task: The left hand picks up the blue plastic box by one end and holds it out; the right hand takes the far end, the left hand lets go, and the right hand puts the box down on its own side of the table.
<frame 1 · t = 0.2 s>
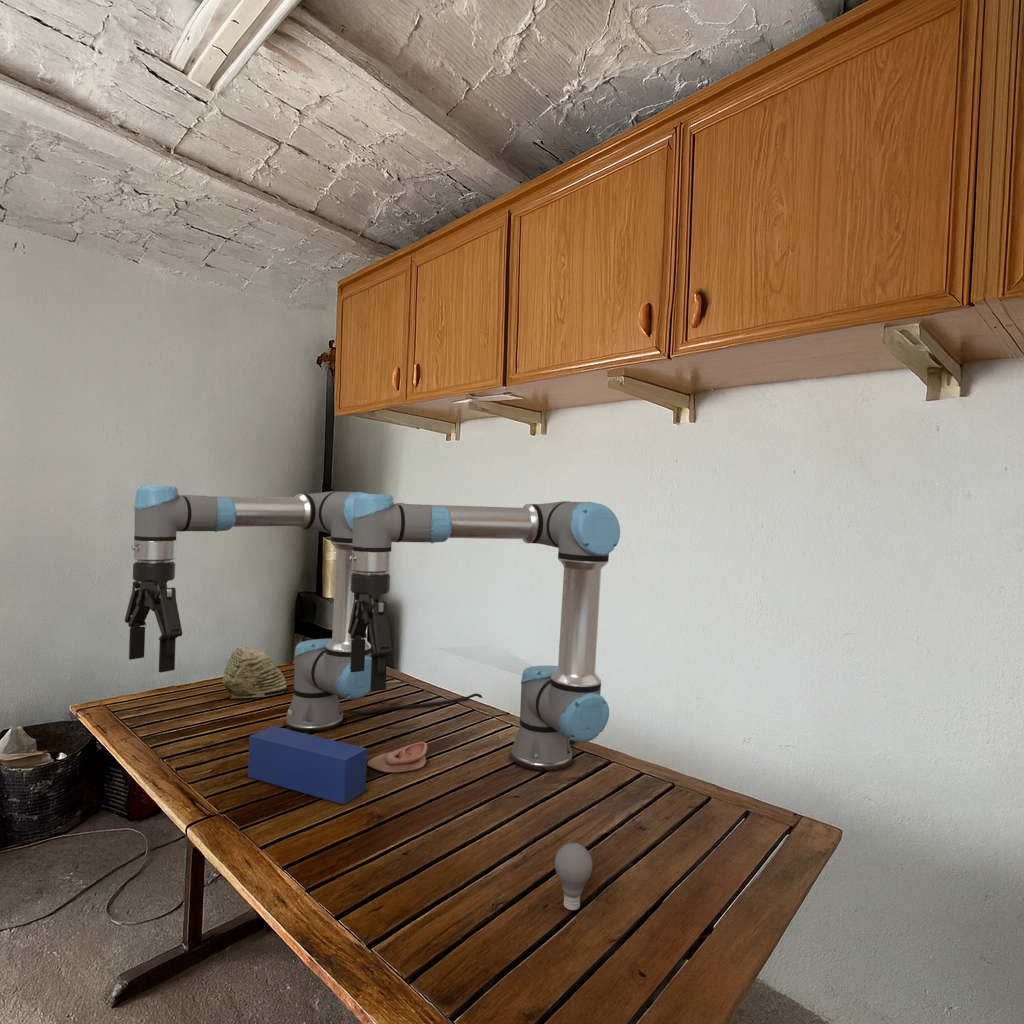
left hand: (151, 664, 129), 28 cm above the table, tool pointing down, fingers open, 13 cm apart
right hand: (367, 680, 124), 28 cm above the table, tool pointing down, fingers open, 13 cm apart
box: (305, 783, 139), on the table
light bulb: (571, 908, 100), on the table
anatomical model: (397, 763, 152), on the table
fossil: (254, 694, 198), on the table
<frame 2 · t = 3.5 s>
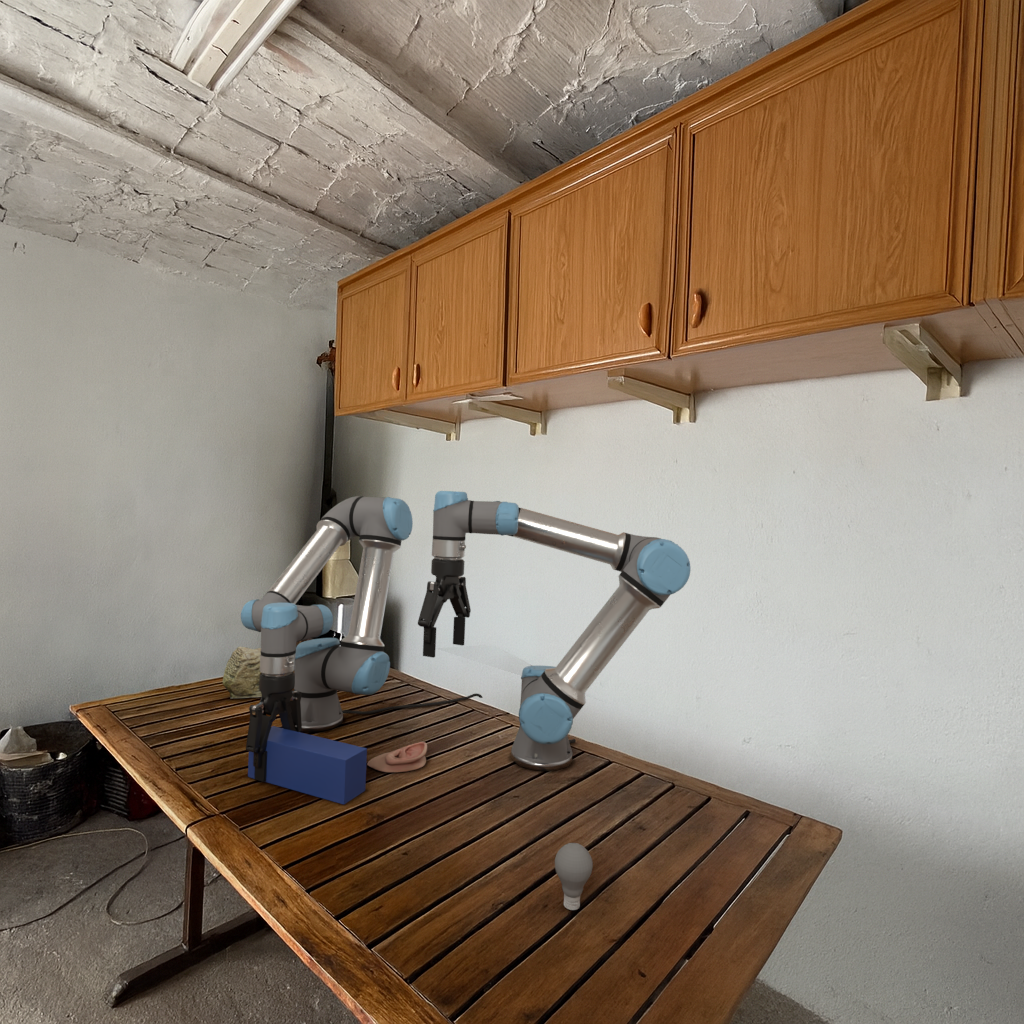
left hand: (273, 773, 143), 0 cm above the table, tool pointing down, fingers closed on box, 7 cm apart
right hand: (444, 650, 146), 29 cm above the table, tool pointing down, fingers open, 13 cm apart
box: (305, 783, 139), on the table, touching left hand
everything else where it was.
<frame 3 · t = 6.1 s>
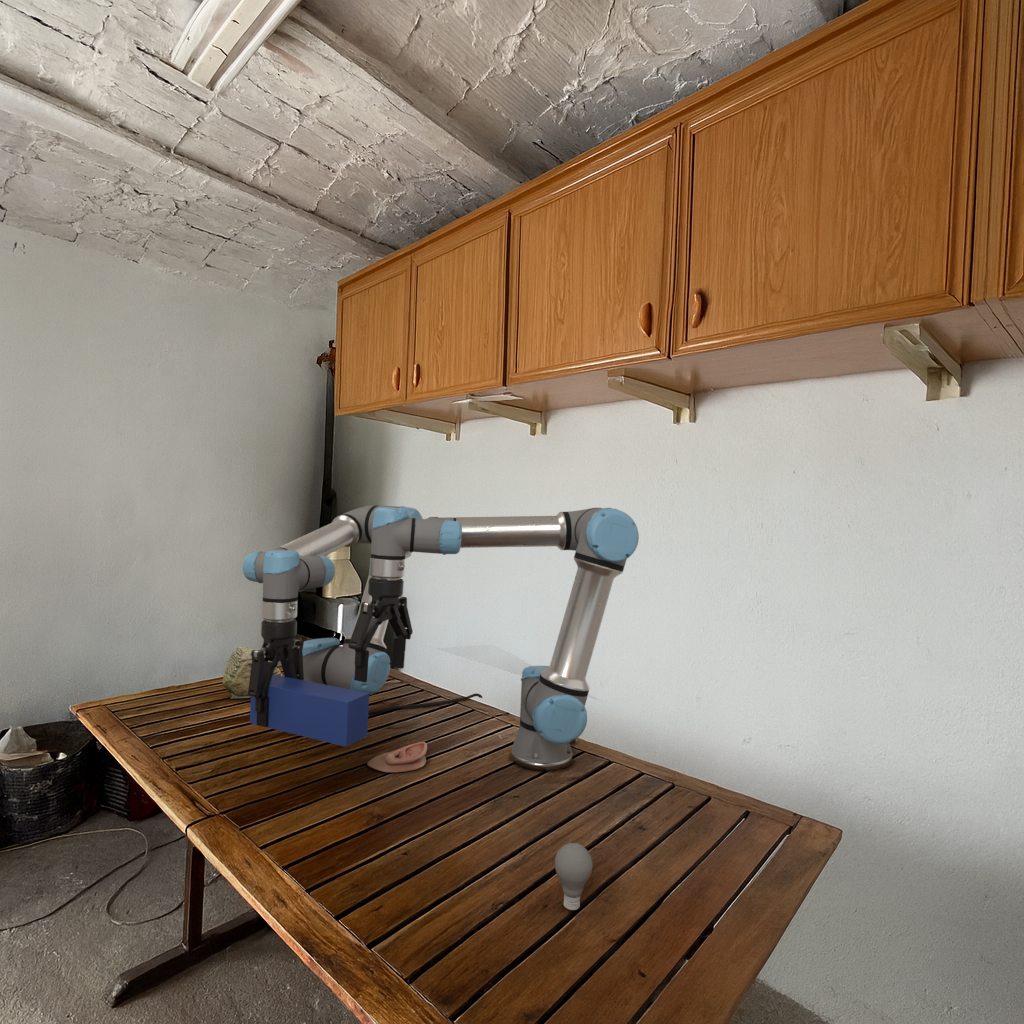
left hand: (275, 720, 143), 12 cm above the table, tool pointing down, fingers closed on box, 7 cm apart
right hand: (380, 674, 139), 25 cm above the table, tool pointing down, fingers open, 13 cm apart
box: (307, 729, 139), point 12 cm above the table, touching left hand
everything else where it was.
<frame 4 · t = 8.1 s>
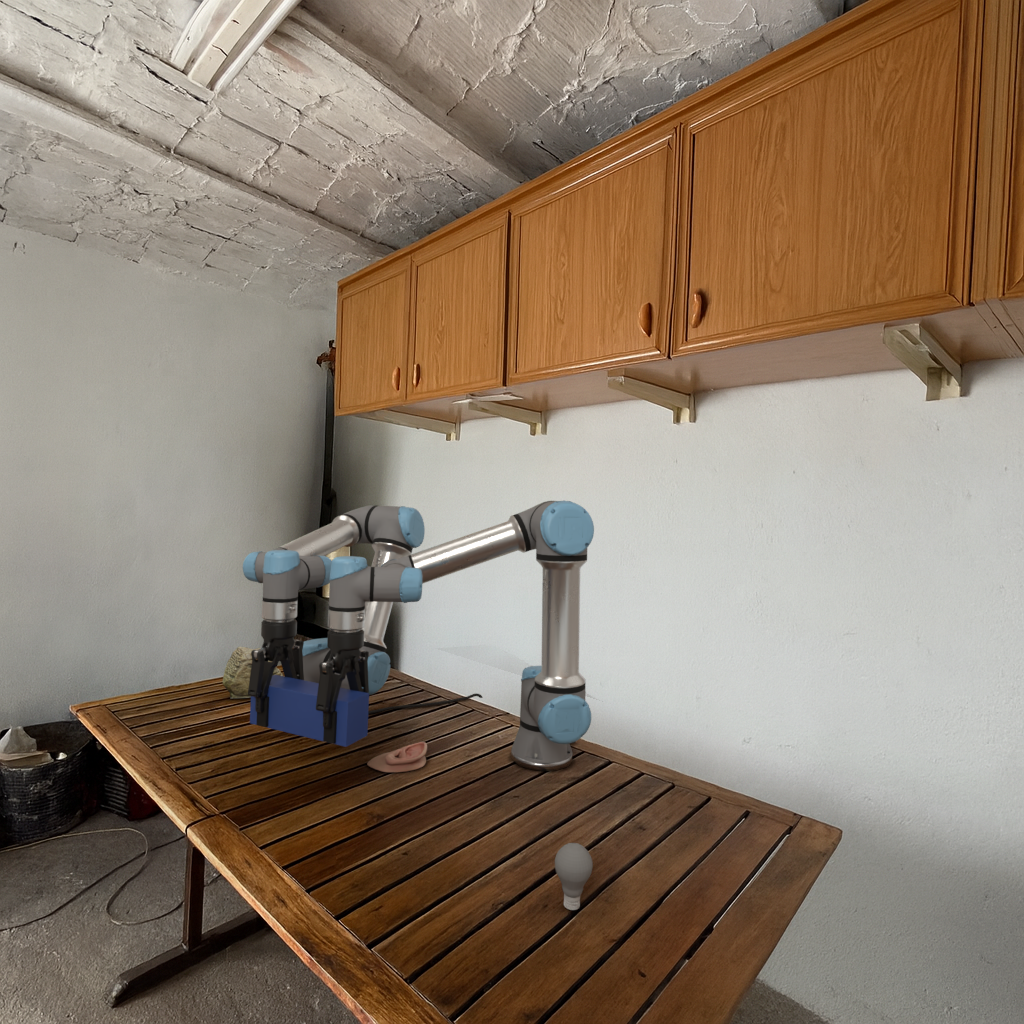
left hand: (275, 720, 143), 12 cm above the table, tool pointing down, fingers closed on box, 7 cm apart
right hand: (342, 735, 135), 12 cm above the table, tool pointing down, fingers closed on box, 7 cm apart
box: (307, 729, 139), point 12 cm above the table, touching left hand, right hand
everything else where it was.
when the left hand's fingers open (12 cm above the table, at t = 9.1 s): box stays where it is, held by the right hand.
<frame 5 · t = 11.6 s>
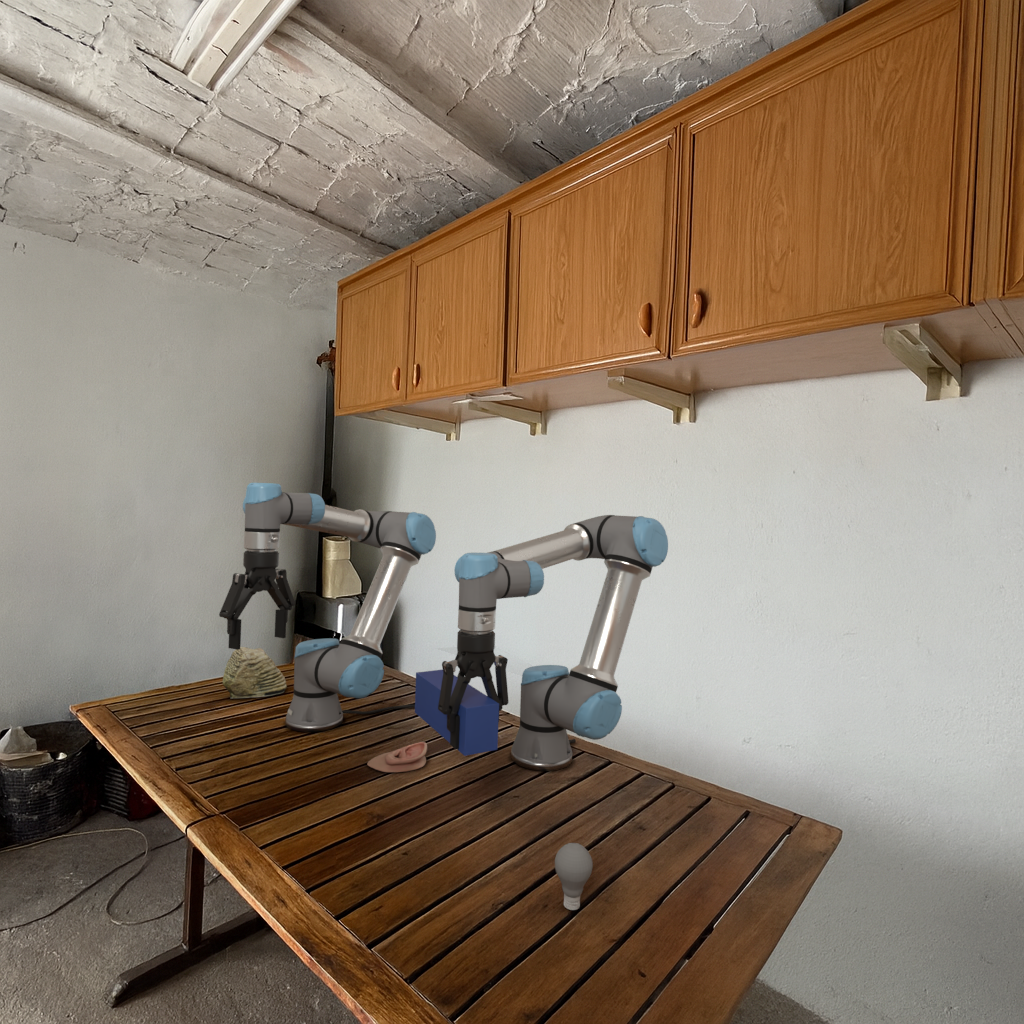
left hand: (258, 642, 145), 29 cm above the table, tool pointing down, fingers open, 13 cm apart
right hand: (472, 743, 127), 15 cm above the table, tool pointing down, fingers closed on box, 7 cm apart
box: (453, 729, 135), point 15 cm above the table, touching right hand
everything else where it was.
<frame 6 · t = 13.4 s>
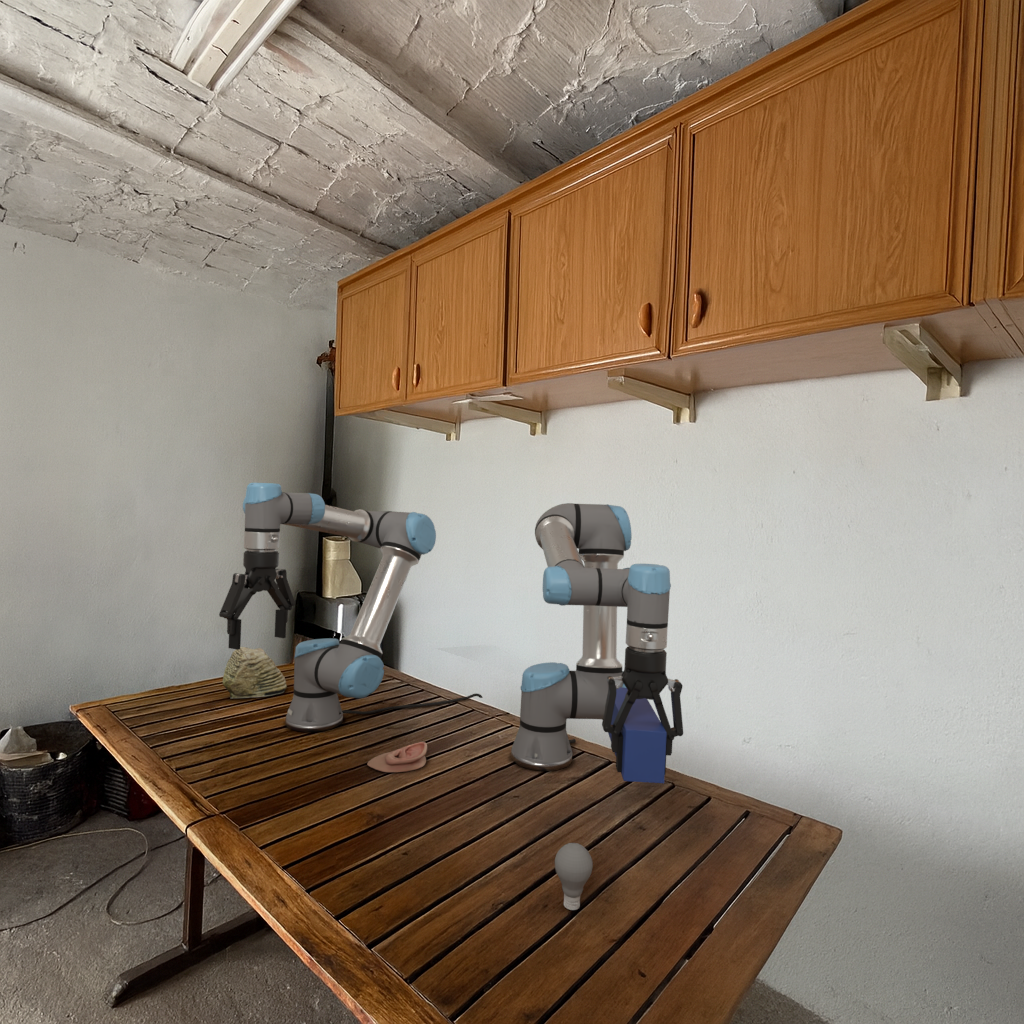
left hand: (258, 642, 145), 29 cm above the table, tool pointing down, fingers open, 13 cm apart
right hand: (640, 770, 118), 15 cm above the table, tool pointing down, fingers closed on box, 7 cm apart
box: (632, 753, 127), point 15 cm above the table, touching right hand
everything else where it was.
when the right hand's fingers open (2 cm above the table, at t = 15.1 s): box drops 1 cm, on the table.
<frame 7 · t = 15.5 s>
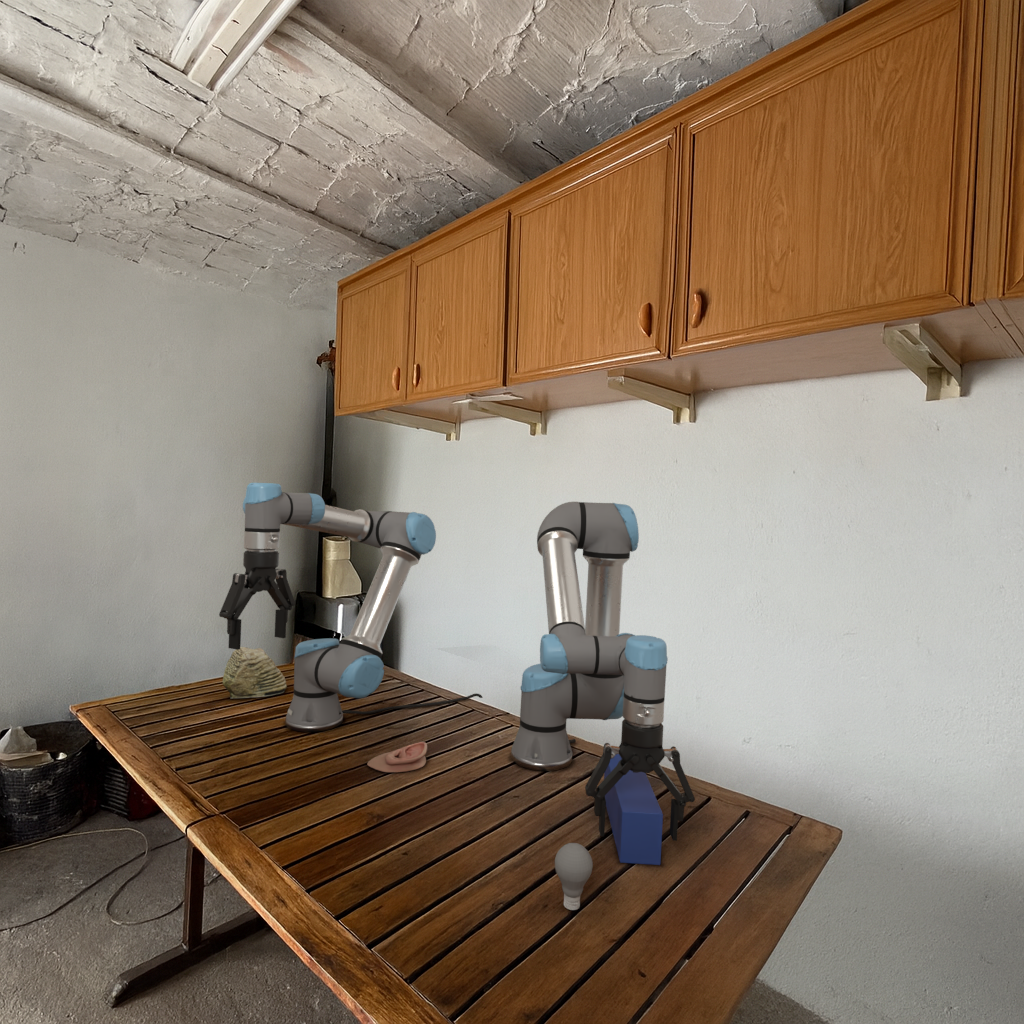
left hand: (258, 642, 145), 29 cm above the table, tool pointing down, fingers open, 13 cm apart
right hand: (637, 834, 118), 3 cm above the table, tool pointing down, fingers open, 13 cm apart
box: (628, 826, 127), on the table
everything else where it was.
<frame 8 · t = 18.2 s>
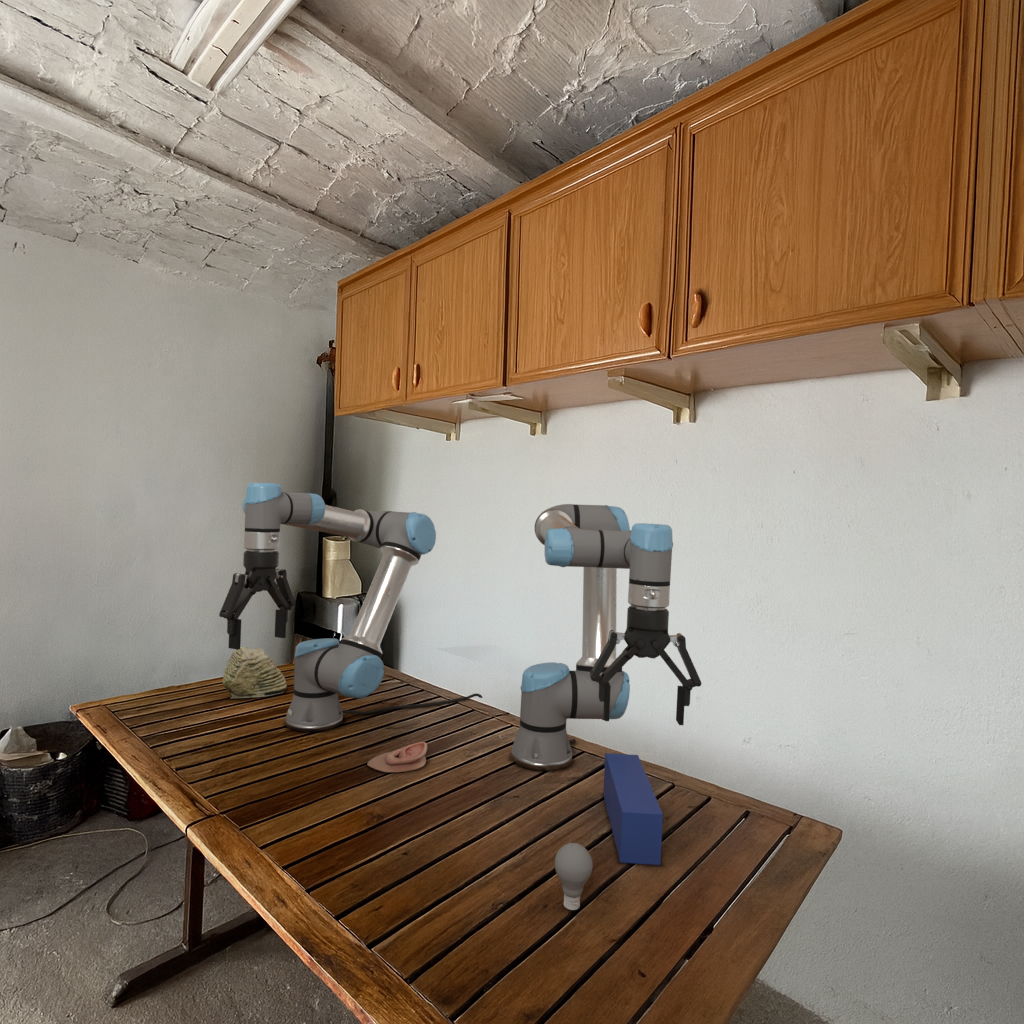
left hand: (258, 642, 145), 29 cm above the table, tool pointing down, fingers open, 13 cm apart
right hand: (642, 721, 118), 24 cm above the table, tool pointing down, fingers open, 13 cm apart
nothing on the table moved.
at the end: box inside the target area (9.1 cm from its centre), on the table; the left hand is holding nothing; the right hand is holding nothing; box at rest at the end (0.0 cm/s) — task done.
